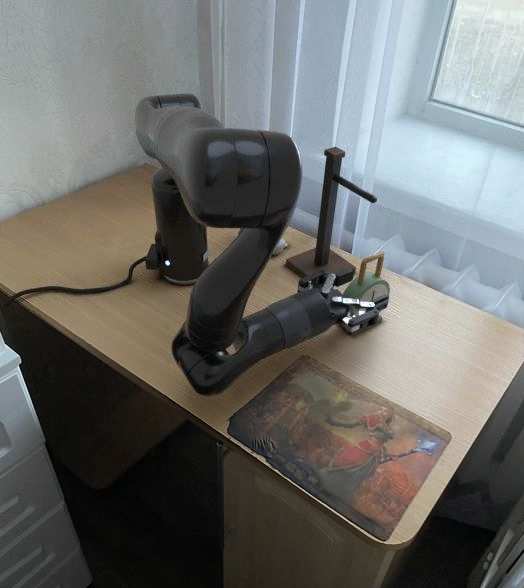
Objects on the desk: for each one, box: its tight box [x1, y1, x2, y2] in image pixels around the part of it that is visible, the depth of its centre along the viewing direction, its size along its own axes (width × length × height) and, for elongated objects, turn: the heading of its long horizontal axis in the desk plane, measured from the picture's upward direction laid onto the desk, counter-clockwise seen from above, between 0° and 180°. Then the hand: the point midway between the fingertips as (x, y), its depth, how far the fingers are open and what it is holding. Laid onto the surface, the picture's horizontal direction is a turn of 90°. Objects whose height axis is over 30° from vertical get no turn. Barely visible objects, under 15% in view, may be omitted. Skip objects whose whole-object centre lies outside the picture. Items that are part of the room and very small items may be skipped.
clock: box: [338, 251, 391, 336], centre depth 92 cm, size 9×4×14 cm, turn 126°
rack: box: [285, 146, 378, 288], centre depth 98 cm, size 16×10×24 cm, turn 36°
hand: (369, 286), depth 91 cm, fingers open, 8 cm apart
